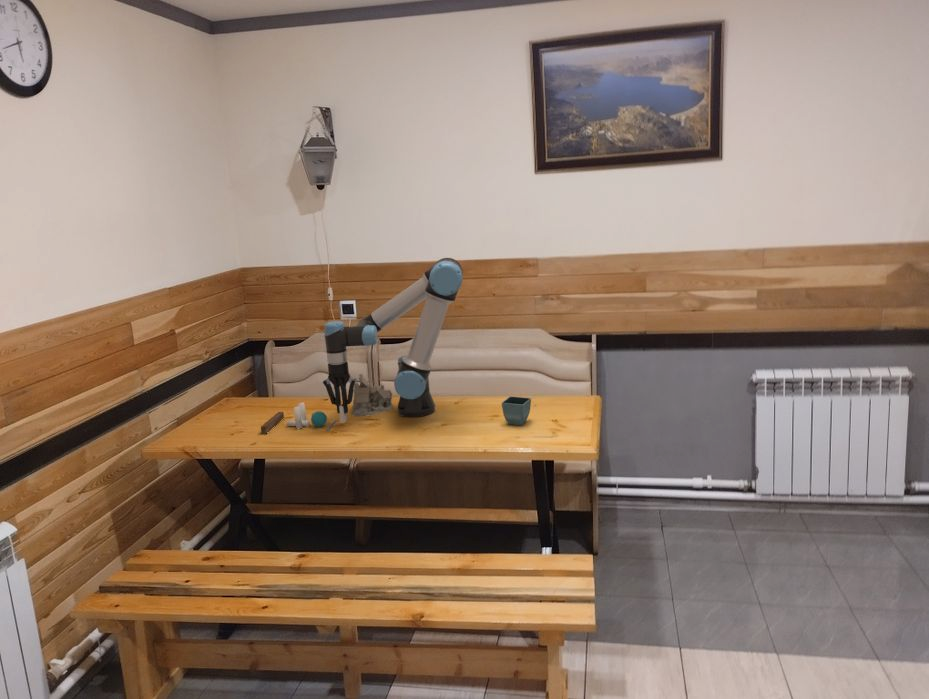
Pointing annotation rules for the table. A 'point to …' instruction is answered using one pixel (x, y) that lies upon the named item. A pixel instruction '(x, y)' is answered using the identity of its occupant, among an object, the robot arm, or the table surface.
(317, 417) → the ball
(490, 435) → the table surface
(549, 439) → the table surface
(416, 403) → the robot arm
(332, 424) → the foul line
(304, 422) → the pin front
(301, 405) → the pin
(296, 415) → the pin
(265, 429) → the brown wooden bar
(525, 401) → the flower pot
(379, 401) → the grey castle model
